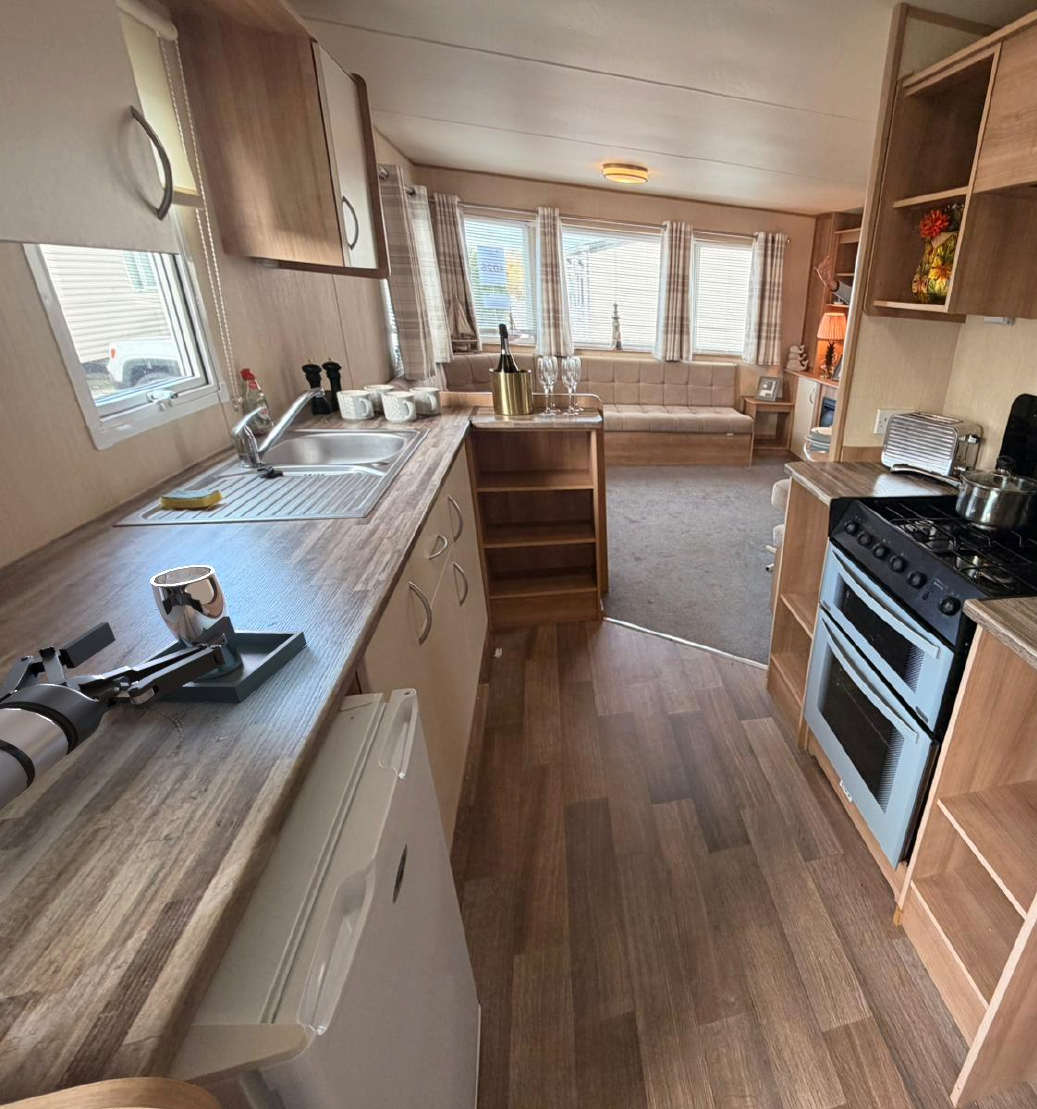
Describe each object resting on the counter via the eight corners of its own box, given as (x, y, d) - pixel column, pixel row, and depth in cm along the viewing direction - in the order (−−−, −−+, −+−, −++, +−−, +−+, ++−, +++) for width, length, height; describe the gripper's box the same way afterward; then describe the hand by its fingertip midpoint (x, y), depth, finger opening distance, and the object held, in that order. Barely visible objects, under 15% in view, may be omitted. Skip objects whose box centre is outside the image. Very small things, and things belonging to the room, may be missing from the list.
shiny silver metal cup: (172, 674, 84) (135, 579, 78) (227, 650, 90) (196, 561, 84) (203, 686, 82) (167, 590, 76) (257, 661, 88) (227, 570, 82)
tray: (110, 701, 79) (102, 685, 78) (197, 643, 92) (191, 629, 91) (240, 702, 80) (234, 687, 79) (307, 645, 93) (303, 631, 92)
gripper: (-114, 778, 57) (67, 658, 76) (183, 752, 62) (284, 646, 81) (-156, 716, 54) (43, 608, 74) (159, 694, 59) (269, 598, 79)
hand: (170, 628), depth 78 cm, fingers open, 13 cm apart
